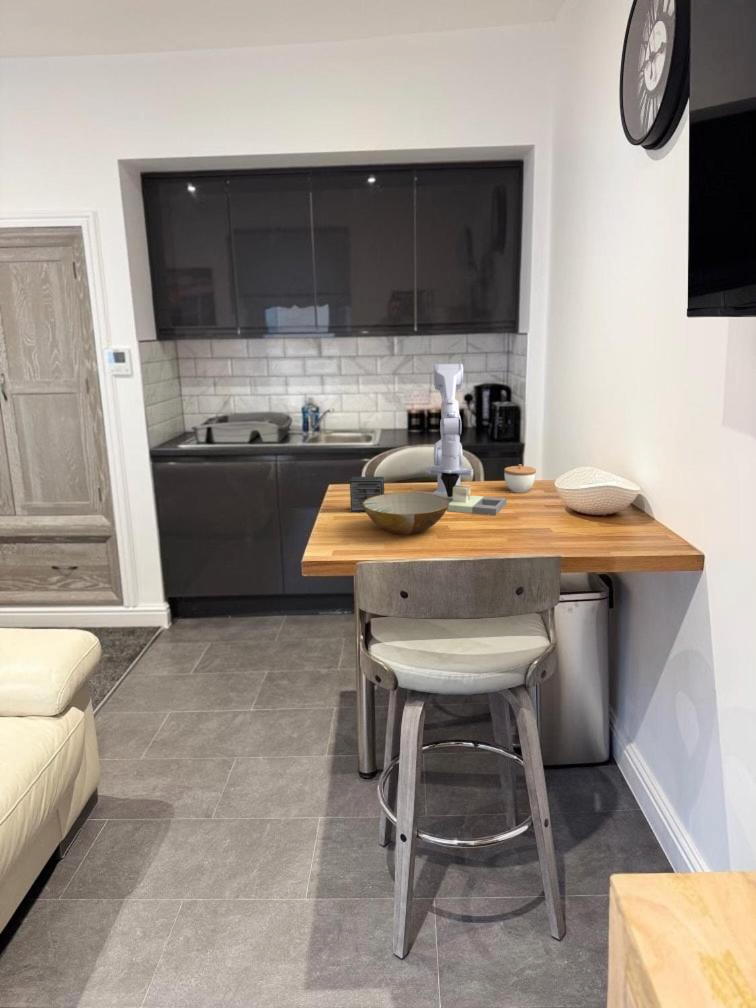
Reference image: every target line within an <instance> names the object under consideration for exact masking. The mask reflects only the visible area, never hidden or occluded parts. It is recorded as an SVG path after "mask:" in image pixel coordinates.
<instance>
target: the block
mask: <svg viewBox="0 0 756 1008" xmlns="http://www.w3.org/2000/svg"><path fill="white" fill-rule="evenodd" d="M470 495H471V485H469V484H468V485H467V484H465V485H464V484H460V485H456V486H454V487H453V501H456V502H467V501H468V500H470Z"/></svg>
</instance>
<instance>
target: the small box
mask: <svg viewBox="0 0 756 1008" xmlns="http://www.w3.org/2000/svg"><path fill="white" fill-rule="evenodd" d="M349 492H350V493H349V494H350V513H366V511H365V510H364V508H363V506H362V503H363V501H364V500H366V499H368V498H370V497H373V496H377V495H382V494H385V477H384V476H352V477H351V478H350V479H349Z"/></svg>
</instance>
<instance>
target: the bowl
mask: <svg viewBox="0 0 756 1008" xmlns="http://www.w3.org/2000/svg"><path fill="white" fill-rule="evenodd" d="M411 492H412V491H411ZM411 492H408V491H407V492H391V493H384V494H382V495H377V496H373V497H370V498H368V499H366V500H364V501H363V503H362V506H363V508H364V510H365V511H366V512H365V513H366V515H368V517H369V519H370V520H371V521H372V522H373V523H375V524H376V525H377V526H378V527H380V528H382V529H384V530H385V531H387V532H389V533H391V534H394V535H395V534H396V535H405V536H406V535H408V536H409V535H417V534H420V532H421V533H423V532H424V531H426V530H428V529H429V528H431V527H433V526H434V525H435V524H437V523H438V521H440V520H441V519H442V517H443V516H444V515H445V514H446V512H447V511H446V510H447V508H448V506H449V501H448V500H447V499H445V498H443V497H440V496H436V495H432V494H425V493H411Z"/></svg>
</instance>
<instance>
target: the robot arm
mask: <svg viewBox="0 0 756 1008" xmlns="http://www.w3.org/2000/svg"><path fill="white" fill-rule="evenodd" d="M463 381H464V365H463V364H462V362H461V363H441V364H440V363H435V364H433V383H434V384H433V385H434V386H433V387H434V389H435V390H436V391H439V393H440V396H441V404H440V412H441V413H440V415H441V419H440V422H439V423H440V424H439V425H440V427H439V431H440V432H439V433H440V439H439V440H438V441H436V442H435V443H434V446H433V466H429V467H427V474H429V475H431V474H437V489H436V490H434V491H433V493H445V494H447V497H452V496H453V487H454V486H456V485H461V476H466V477H467V476H468V477H472V476H474V469H472V468H465V467H461V466H463V462H464V461H463V459H464V458H463V454H464V452H463V444H462V443H461V442H460V439H461V438H460V436H461V435H462V419H461V415H460V405H459V404H460V403H459V401H458V400H457V399H456V392H457V391H458V390H461V389H462V386H463Z"/></svg>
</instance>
